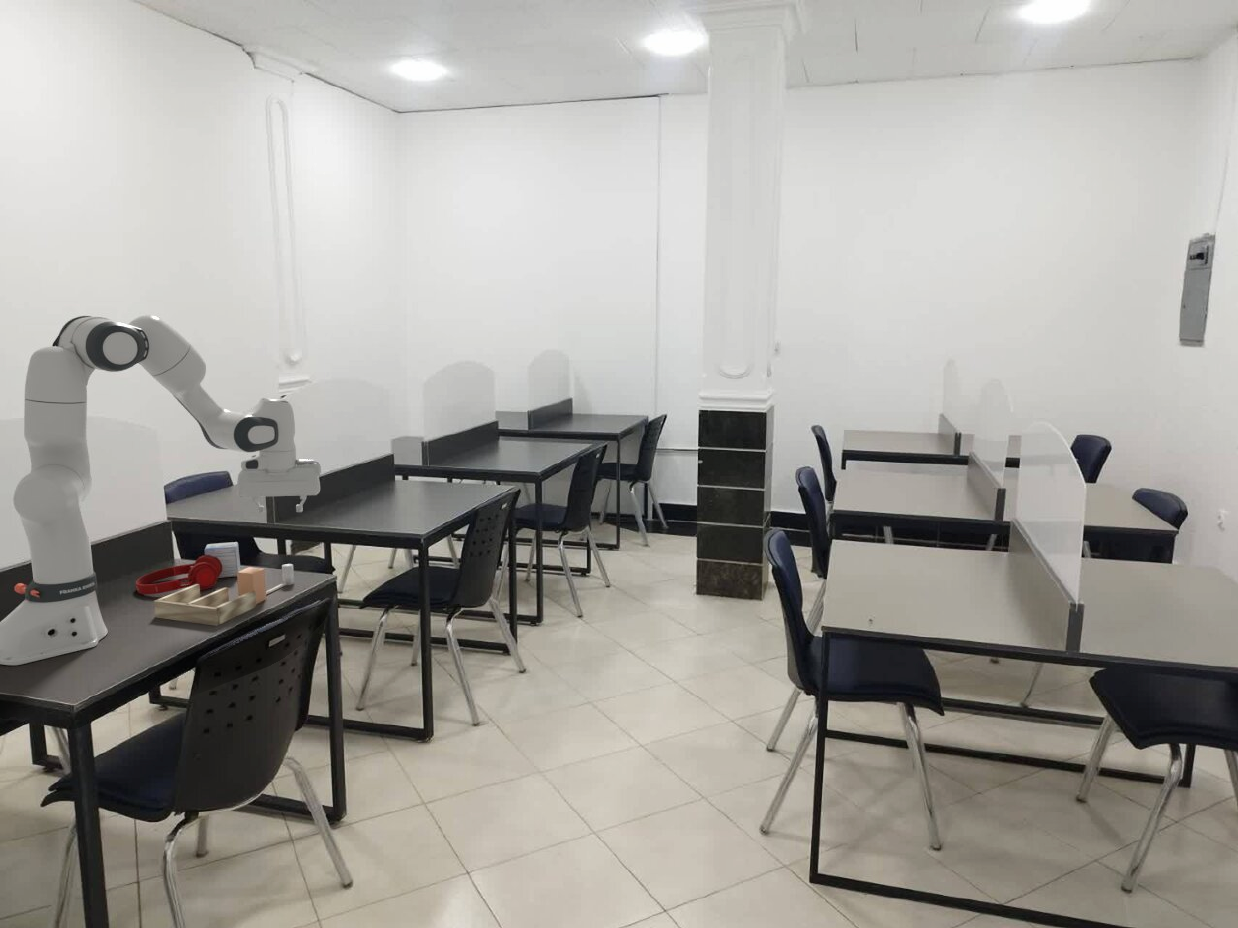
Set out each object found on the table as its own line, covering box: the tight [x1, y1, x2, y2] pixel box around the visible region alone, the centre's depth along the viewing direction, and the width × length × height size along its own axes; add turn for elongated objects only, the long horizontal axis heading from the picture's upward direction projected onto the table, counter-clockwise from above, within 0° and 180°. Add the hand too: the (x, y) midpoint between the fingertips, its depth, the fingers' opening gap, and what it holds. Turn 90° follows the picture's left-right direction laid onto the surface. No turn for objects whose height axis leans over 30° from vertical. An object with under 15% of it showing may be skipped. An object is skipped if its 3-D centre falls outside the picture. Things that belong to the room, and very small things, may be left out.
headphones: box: [135, 554, 222, 595], centre depth 227 cm, size 15×7×20 cm
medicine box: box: [204, 541, 242, 579], centre depth 235 cm, size 8×4×9 cm, turn 107°
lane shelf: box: [153, 584, 257, 627], centre depth 209 cm, size 14×18×4 cm
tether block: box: [236, 563, 295, 605], centre depth 223 cm, size 18×4×8 cm, turn 166°
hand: (280, 512), depth 228 cm, fingers open, 8 cm apart
